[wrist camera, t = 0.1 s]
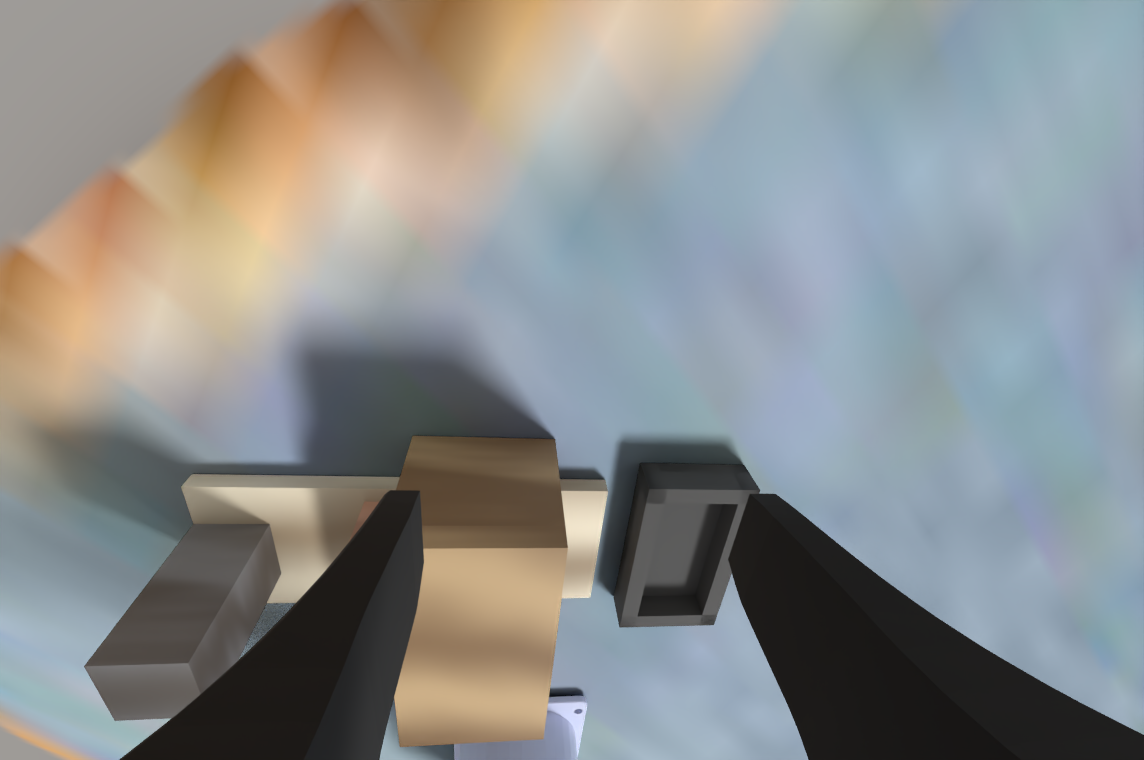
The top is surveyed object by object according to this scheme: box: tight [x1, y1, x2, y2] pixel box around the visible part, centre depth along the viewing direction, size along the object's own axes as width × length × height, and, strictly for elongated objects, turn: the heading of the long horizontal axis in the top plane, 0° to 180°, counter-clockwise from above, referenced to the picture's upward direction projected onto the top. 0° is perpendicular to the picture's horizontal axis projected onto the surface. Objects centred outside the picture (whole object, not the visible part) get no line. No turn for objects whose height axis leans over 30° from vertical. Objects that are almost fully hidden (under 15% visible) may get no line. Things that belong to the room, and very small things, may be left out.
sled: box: [84, 474, 608, 721], centre depth 21 cm, size 7×18×7 cm, turn 84°
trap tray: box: [614, 463, 760, 627], centre depth 25 cm, size 9×5×2 cm, turn 175°
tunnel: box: [394, 436, 568, 747], centre depth 22 cm, size 11×6×6 cm, turn 175°
